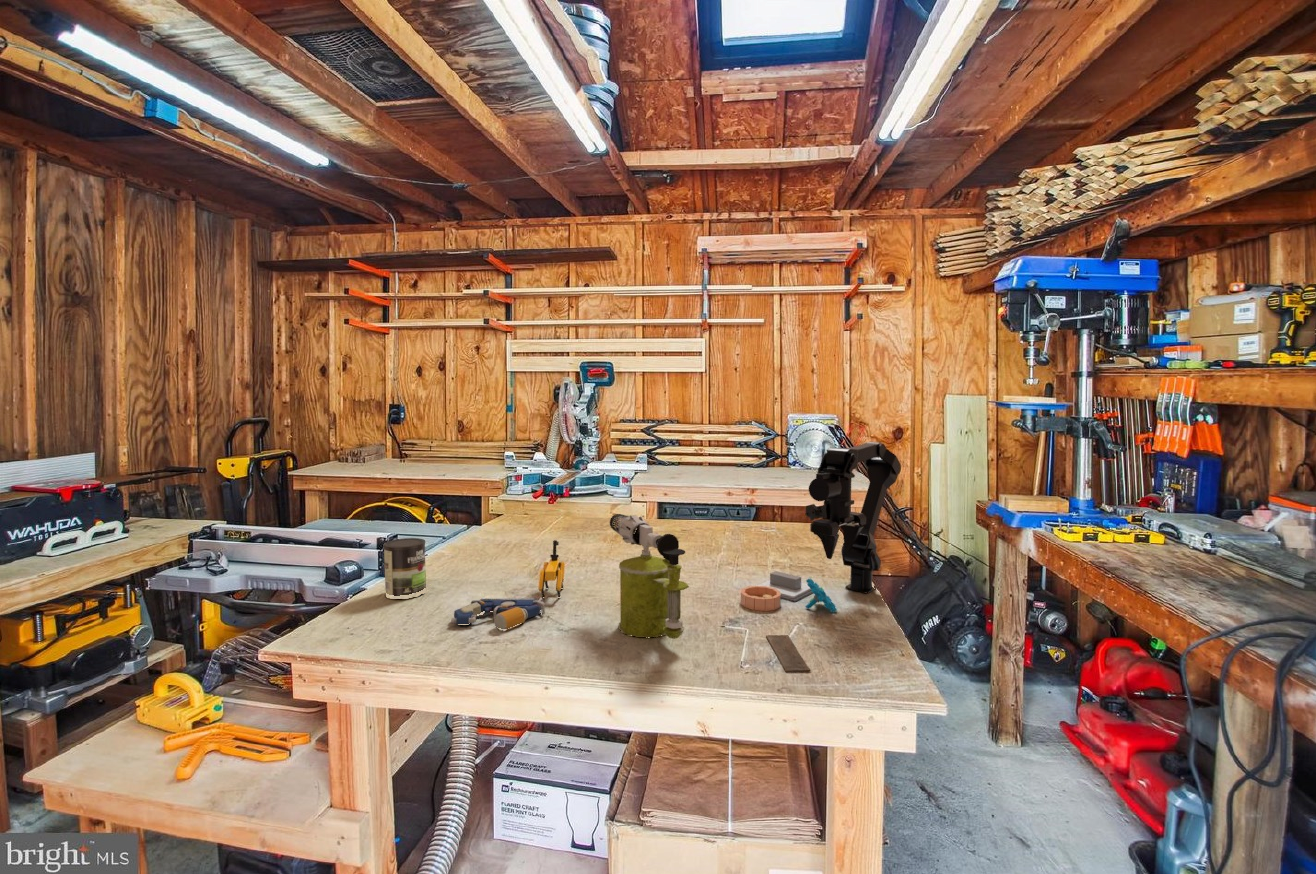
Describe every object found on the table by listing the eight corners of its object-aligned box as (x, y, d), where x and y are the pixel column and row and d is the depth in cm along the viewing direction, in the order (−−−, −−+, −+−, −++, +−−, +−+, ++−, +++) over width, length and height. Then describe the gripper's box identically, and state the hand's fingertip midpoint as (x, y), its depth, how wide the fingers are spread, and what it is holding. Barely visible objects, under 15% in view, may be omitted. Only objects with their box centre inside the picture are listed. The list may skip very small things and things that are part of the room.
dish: (755, 594, 157) (755, 583, 156) (787, 603, 150) (788, 591, 150) (733, 603, 149) (733, 592, 149) (766, 613, 142) (766, 601, 142)
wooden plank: (765, 633, 129) (788, 632, 129) (766, 639, 129) (788, 637, 129) (786, 670, 112) (811, 669, 112) (786, 677, 112) (811, 675, 113)
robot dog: (567, 581, 167) (567, 535, 166) (560, 603, 149) (560, 552, 148) (547, 581, 167) (547, 536, 166) (538, 604, 149) (537, 553, 148)
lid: (777, 578, 169) (778, 566, 169) (815, 587, 161) (815, 575, 161) (754, 588, 160) (755, 575, 160) (793, 598, 152) (794, 585, 152)
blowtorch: (653, 661, 117) (653, 539, 115) (594, 608, 146) (593, 510, 144) (708, 648, 123) (709, 532, 121) (640, 600, 152) (640, 505, 150)
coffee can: (434, 589, 160) (433, 539, 159) (407, 602, 150) (406, 548, 149) (404, 585, 163) (403, 536, 162) (376, 597, 153) (374, 545, 152)
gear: (838, 613, 139) (808, 580, 141) (819, 628, 140) (790, 595, 143) (839, 603, 149) (812, 573, 152) (822, 618, 150) (795, 587, 153)
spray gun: (534, 633, 131) (549, 610, 146) (534, 615, 131) (549, 594, 146) (443, 634, 131) (467, 611, 146) (443, 616, 131) (467, 595, 146)
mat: (776, 578, 170) (776, 577, 170) (820, 589, 161) (820, 587, 161) (749, 589, 160) (749, 588, 160) (795, 602, 151) (795, 600, 151)
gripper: (830, 488, 163) (829, 543, 164) (792, 496, 150) (791, 556, 151) (867, 493, 155) (866, 550, 156) (831, 502, 142) (830, 565, 143)
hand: (838, 555), depth 152 cm, fingers open, 9 cm apart
